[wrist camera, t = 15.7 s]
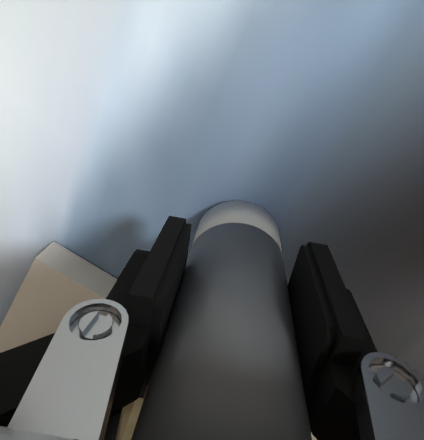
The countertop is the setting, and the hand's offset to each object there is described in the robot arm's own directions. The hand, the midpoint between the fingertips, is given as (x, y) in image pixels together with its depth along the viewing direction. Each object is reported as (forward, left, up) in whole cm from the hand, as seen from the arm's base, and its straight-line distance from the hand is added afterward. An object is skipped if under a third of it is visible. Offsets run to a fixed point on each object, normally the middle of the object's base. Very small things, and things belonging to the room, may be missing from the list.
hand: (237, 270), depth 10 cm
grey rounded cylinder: (+1, 0, -4) cm, 4 cm away
